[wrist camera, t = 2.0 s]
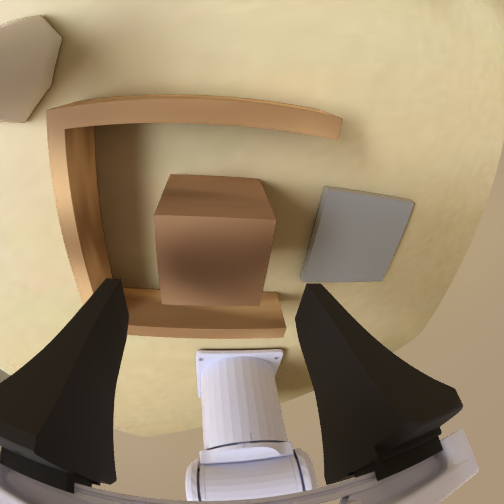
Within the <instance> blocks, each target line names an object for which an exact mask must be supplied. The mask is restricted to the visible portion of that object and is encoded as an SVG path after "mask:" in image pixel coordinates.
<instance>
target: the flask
mask: <svg viewBox="0 0 504 504" xmlns="http://www.w3.org/2000/svg"><path fill="white" fill-rule="evenodd" d="M61 41H62V37H61V36H60V35H59V34H58V33H57V32H56V31H55V30H54V29H53V28H52V26H51V25H50V24H49V23H48V22H47V21H46V20H45V19H44V18H43V17H42V16H41V15H38V16H32V17H27V18H22V19H18V20H13V21H9V22H7V23H4V24H2V25H0V122H18V123H25V122H26V121H27V119H28V118H29V116H30V115H31V113H32V112H33V110H34V109H35V107H36V106H37V104H38V103H39V101H40V100H41V99H42V97H43V96H44V95H45V93H46V92H47V91H48V89H49V88H50V87H51V84H52V79H53V74H54V69H55V65H56V61H57V56H58V52H59V49H60V45H61Z"/></svg>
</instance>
